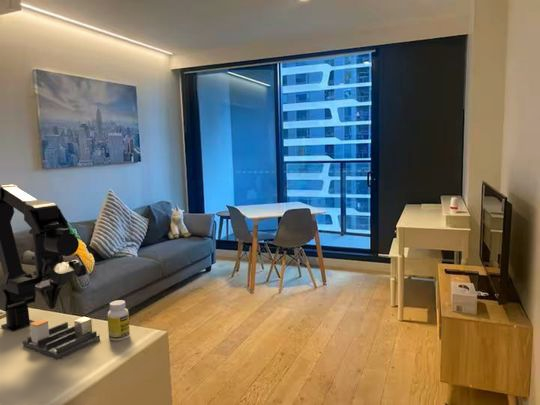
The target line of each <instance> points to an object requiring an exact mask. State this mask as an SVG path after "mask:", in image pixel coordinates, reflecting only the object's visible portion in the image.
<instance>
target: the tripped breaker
mask: <svg viewBox="0 0 540 405" xmlns="http://www.w3.org/2000/svg"><path fill="white" fill-rule="evenodd" d="M34 321H35V322H32V323H30V325H29V328H30V336H31V339H32V342H35V343H37V341H39V340H41V339H43V338H46V337H48V336H49V329H50V328H49V321H48V320H45V319H43V318H41V319H37V320H34Z"/></svg>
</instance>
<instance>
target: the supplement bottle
mask: <svg viewBox="0 0 540 405" xmlns="http://www.w3.org/2000/svg"><path fill="white" fill-rule="evenodd" d="M126 306H127V305H126V301H125V300H123V299H119V300H114V301H111V302H109V311H108V312H107V330H108V331H107V333H108V339H109V340H110V341H123V340H126V339H127V338H129V337H130V335H131V333H130V332H131V331H130V314H129V309H128V308H126Z"/></svg>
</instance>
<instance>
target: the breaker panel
mask: <svg viewBox="0 0 540 405" xmlns="http://www.w3.org/2000/svg"><path fill="white" fill-rule="evenodd" d="M73 324H74V325H73V326H72V325H69V323H68V321H65V322H63V323H60V324H58V325H54V326H53V327H50V328H49V336H48V337H46V338H43V339H41V340H39V341H37V343H35V342H32V339H31V335H30V336H28V337H27V339H25V340H22V348H26V349H27V350H30V351H32V352H36V353H38V354H41V355H43V356H45V357H49V358H51V359H52V360H53V359H54V360H55V361H60V360H62V359H64V358H66V357H68V356H70V355H72V354H74V353H76V352H79V351H81V350H84V349H86V348H88V347H89V346H91V345H93V344H96V343H98V342H99V341H101V338H100V334H97V331H96V330H94V331H93V324H92V318H90V317H86V316H83V317H80V318H77V319H75V320H74V321H73Z"/></svg>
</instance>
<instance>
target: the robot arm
mask: <svg viewBox="0 0 540 405" xmlns="http://www.w3.org/2000/svg"><path fill="white" fill-rule="evenodd" d="M15 210H17V211H18V212H19V213H21V214H22V215H23V221H24V222H25V223H26V224H27V225H28V226H29V228H31V229H29V231H28V234H30V235H32V241H33V242H32V244H33V254H34V255H32V256H31V260H32V261H34V265H35V270H34V271H33V272H32V273H33V275H32V274H31V273H27V272H26V271H25V270H24V269H23V264H22V262H21V258H20V254H19V249H18V246H17V243H16V238H15V235H14V231H13V227H12V220H13V216H14V214H15ZM79 244H80V242H79V239H78V238H77V236H76V235H74V233H71V229H70V228H69V225H68V220H67V219H66V217H65V215H64V214H63V212H62V211H61V209H60V207H59V206H58V205H57V204H56V203H54V202H52V201H48V200H39V199H37V198H35V197H33V196H31V195H30V194H28V193H27V192H26V191H23V190H22V189H20V188H19V186H18V185H16V184H13V183H12V184H3V185H2V184H1V185H0V265H1V269H2V273H3V276H2V278H1V281H0V311H2V312H5V320H6V323H5V324H2V325H1V328H3V329H6V330H8V331H12V332H15V331H18V330H20V329H23V328H26V327H30V323H32V322H35V321H36V320H33V319H30V313H29V312H30V311H29V305H30V304H32V303H35V302H36V295H37V292H38V293H39V295H40V296H41V297H42V299H43V300H44V302H45V304H46V305H47V307H48V308H49V309H50V310H53V309H55V308H56V304H57V302H58V299H59V294H60V292H61V289H62V288H63V287H64V286H65V285H66V284H68V283H69V282H73V281H74V277H77V278H80V277H82V276H86V275H87V274H88V269H87V266H86V265H84V264H82V263H80V261H79V260H78V259H73V260H69V261H66V262H65V260H64V257H70V256H72V255H74V254H75V253H76V252H77V251H78V249H79ZM33 276H36V277H33Z"/></svg>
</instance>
